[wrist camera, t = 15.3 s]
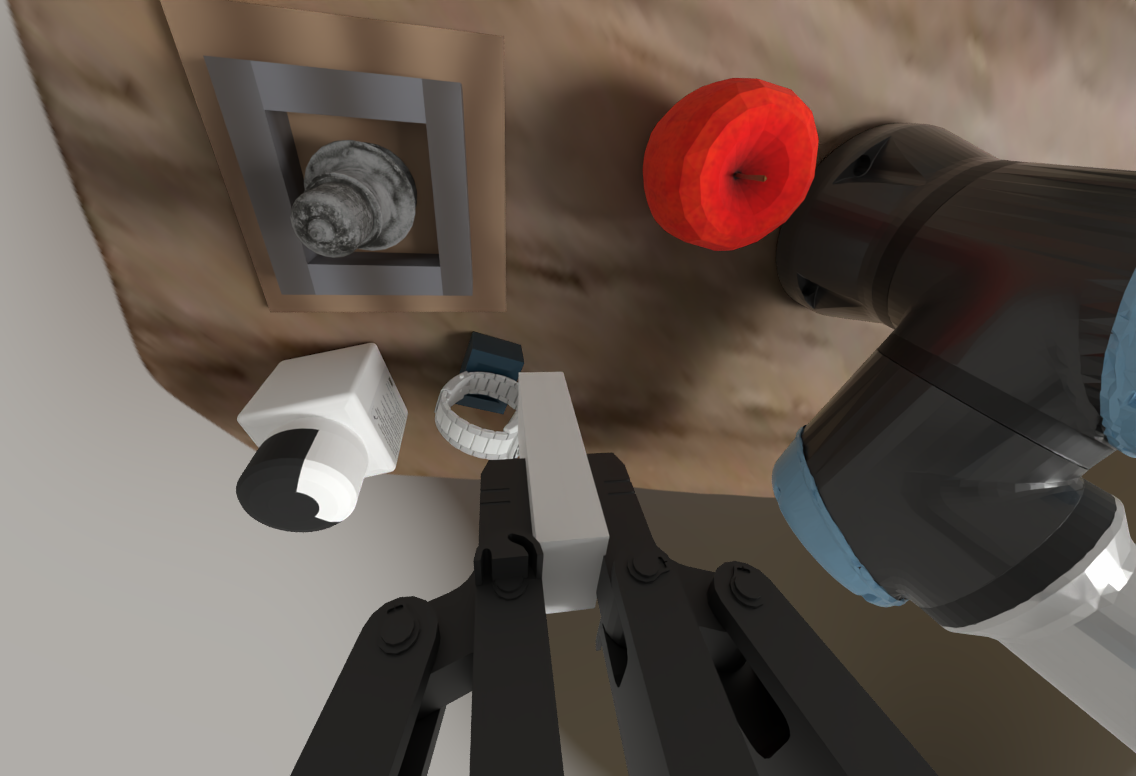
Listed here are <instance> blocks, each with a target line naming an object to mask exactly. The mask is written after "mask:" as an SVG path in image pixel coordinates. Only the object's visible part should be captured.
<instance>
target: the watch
mask: <svg viewBox="0 0 1136 776" xmlns="http://www.w3.org/2000/svg"><path fill="white" fill-rule="evenodd" d="M523 365H524V358H523V353H522V348H521V345H519V344H516V343H512V342H509V341H505V340H502V339H498V338H495V337H491V336H488V335H484V334H481V333H477V332H474V331H473V332H472V335H471V338H470V341H469V345H468V348H467V351H466V354H465V357H464V360H463V363H462V366H461V369H460V372H459V374H458V375H457V376H455V377H453V378H452V379H451V380H449V381H448V382H447V383H446V384H445V386H444V387H443V388H442V390H441V392H440V395H439V398H438V401H437V404H436V408H435V413H436V415H435V423H436V426H437V428H438V430H439V432H440V433H441V435H442V436H443V437H444V438H445V439H446V440H447V441H448V442H449V443H450V444H451V445H453V446H454V447H455V448H457V449H460V450H461V451H463V452H465V453H467V454H469V455H473V456H475V457H479V458H483V459H484V458H486V459H490V460H500V459H517V458H518V456H519V443H518V388H519V383H518V382H517V379H518V377H519V372H521V370H522V367H523ZM516 382H517V383H516ZM515 384H516V385H515ZM508 401H509V402H508ZM454 404H458V405H463V406H467V407H472V408H477V409H481V410H486V411H491V412H495V413H500V414H504V411H505V409H506V406H507V404H508V405H509V406H511V407H512V408H513V409H516V412H515V413H514V415H513V416H512V418H511V419H510V421H509V423H508V424H507V425H506V426H505V427H504V430H503V431H504V432H499V431H496V432H494V431H493V430H488V429H482V428H481V427H478V426H475V425H473V424H470V425H469V422H467V421H466V420H464V419H462V418H459V416H458V415H457V414H455V413H454V412H453V411H451V408H450V407H451V406H452V405H454ZM481 430H482V431H481ZM474 437H475V438H474ZM473 439H474V440H473ZM472 442H473V443H472ZM471 445H472V446H471ZM473 451H474V452H473ZM472 453H473V454H472Z"/></svg>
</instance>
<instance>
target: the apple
mask: <svg viewBox="0 0 1136 776" xmlns="http://www.w3.org/2000/svg"><path fill="white" fill-rule="evenodd" d="M818 141H819V139H818V135H817V131H816V126H815V122H814V118H813V114H812V111H811V110H810V109H809V108H808V107H807V106H806V104H805V103H804V102H803V101H802V100H801V99H800V98H799V97H798V96H797V95H796V94H795V93H794V92H793V91H792V90H790V89H787V88H784V87H781V86H778V85H775V84H772V83H769V82H766V81H763V80H760V79H751V78H731V79H727V80H723V81H719V82H715V83H712V84H709V85H706V86H703V87H701V88H699V89H697V90H695V91H693V92H692V93H690V94H688V95H686V96H685V97H684V98H683V99H681V100H680V101H679V102H678V103H676V104H675V105H674V106H673V107H672V108H671V109H670V110H669V111H668V112H667V113H666V114H665V115H664V117H663V118H662V119H661V120H660V121H659V122H658V123H657V124H656V126H655V128H654V129H653V131H652V133H651V135H650V138H649V141H648V144H647V147H646V150H645V155H644V163H643V180H644V191H645V195H646V199H647V203H648V205H649V208H650V211H651V213H652V215H653V217H654V219H655V221H656V222H657V223H658V224H659V225H660V226H661V227H662V228H663V229H664V230H665V231H666V232H668V233H669V234H671V235H673V236H674V237H676V238H678V239H680V240H682V241H684V242H687V243H690V244H694V245H697V246H701V247H704V248H708V249H711V250H714V251H727V250H735V249H738V248H741V247H744V246H747V245H749V244H752V243H755V242H757V241H759V240H760V239H762V238H763V237H764V236H766V235H767V234H769V233H770V232H772V231H773V230H775V229H776V228H778V227H779V226H780V225H782V224H783V223H785V222H786V221H787V219H788V218H789V217H790V216H791V215H792V213H793V212H794V211H795V210H796V209H797V207H798V206H799V205H800V204H801V203H802V202H803V200H804V199H805V197H806V195H807V193H808V190H809V188H810V186H811V184H812V181H813V179H814V175H815V167H816V158H817V149H818Z"/></svg>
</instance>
